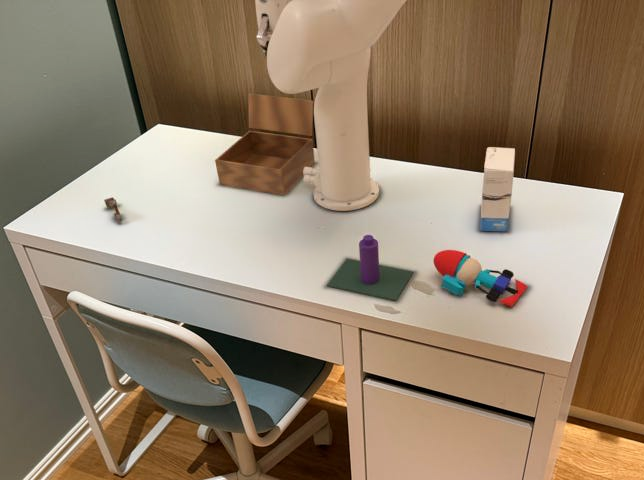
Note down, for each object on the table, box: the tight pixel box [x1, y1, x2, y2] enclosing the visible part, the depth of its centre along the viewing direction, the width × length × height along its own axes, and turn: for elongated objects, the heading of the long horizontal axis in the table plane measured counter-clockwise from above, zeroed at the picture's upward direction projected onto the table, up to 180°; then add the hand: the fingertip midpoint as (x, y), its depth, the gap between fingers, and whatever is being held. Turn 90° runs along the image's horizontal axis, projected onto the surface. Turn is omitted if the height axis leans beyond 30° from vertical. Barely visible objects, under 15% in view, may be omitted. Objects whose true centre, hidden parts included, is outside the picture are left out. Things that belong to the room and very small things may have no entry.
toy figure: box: [433, 249, 528, 307], centre depth 112 cm, size 8×5×15 cm
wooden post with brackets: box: [103, 196, 123, 223], centre depth 137 cm, size 2×8×4 cm, turn 28°
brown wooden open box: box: [214, 130, 316, 197], centre depth 144 cm, size 15×14×5 cm
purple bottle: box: [358, 234, 380, 285], centre depth 113 cm, size 3×3×8 cm
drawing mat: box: [326, 258, 414, 302], centre depth 116 cm, size 12×8×1 cm, turn 65°
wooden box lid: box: [247, 93, 314, 137], centre depth 145 cm, size 15×7×1 cm
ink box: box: [479, 146, 516, 232], centre depth 123 cm, size 8×5×12 cm, turn 168°
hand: (284, 64), depth 142 cm, fingers open, 6 cm apart
